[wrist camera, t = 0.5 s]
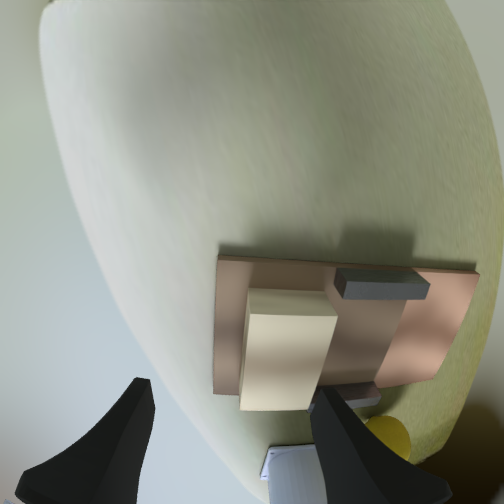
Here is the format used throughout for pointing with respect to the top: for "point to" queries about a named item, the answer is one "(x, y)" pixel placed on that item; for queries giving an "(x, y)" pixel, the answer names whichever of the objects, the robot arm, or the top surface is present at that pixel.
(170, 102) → the top surface
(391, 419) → the lemon
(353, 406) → the channel
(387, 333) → the board
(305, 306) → the block
